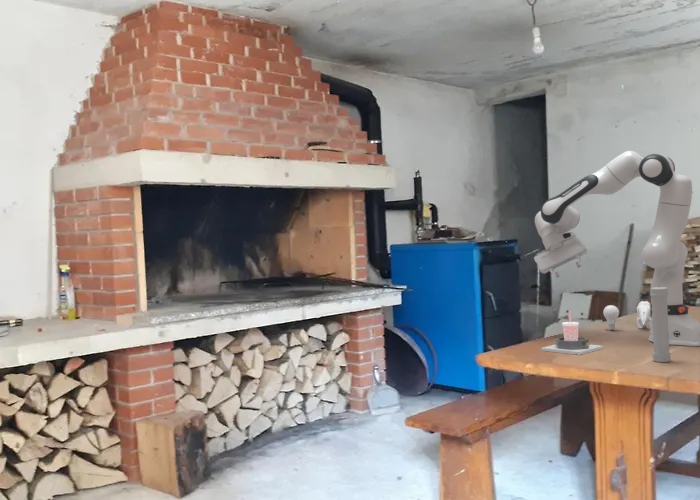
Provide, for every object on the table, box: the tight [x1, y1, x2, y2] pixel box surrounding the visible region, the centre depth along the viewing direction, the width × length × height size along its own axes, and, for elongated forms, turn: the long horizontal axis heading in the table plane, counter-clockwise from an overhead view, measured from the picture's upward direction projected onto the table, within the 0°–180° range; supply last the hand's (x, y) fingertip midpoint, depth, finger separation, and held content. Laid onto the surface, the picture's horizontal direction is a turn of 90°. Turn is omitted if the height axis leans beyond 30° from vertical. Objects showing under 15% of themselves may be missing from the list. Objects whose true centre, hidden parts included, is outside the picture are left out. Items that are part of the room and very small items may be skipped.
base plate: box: [540, 343, 604, 356], centre depth 253 cm, size 16×16×1 cm
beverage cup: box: [561, 309, 580, 341], centre depth 253 cm, size 6×6×14 cm
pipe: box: [649, 270, 672, 363], centre depth 225 cm, size 6×6×30 cm
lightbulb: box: [602, 304, 620, 332], centre depth 292 cm, size 6×6×11 cm
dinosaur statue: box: [636, 300, 651, 330], centre depth 294 cm, size 7×24×11 cm, turn 154°
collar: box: [554, 336, 591, 350], centre depth 253 cm, size 13×11×3 cm
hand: (568, 271), depth 273 cm, fingers open, 8 cm apart
